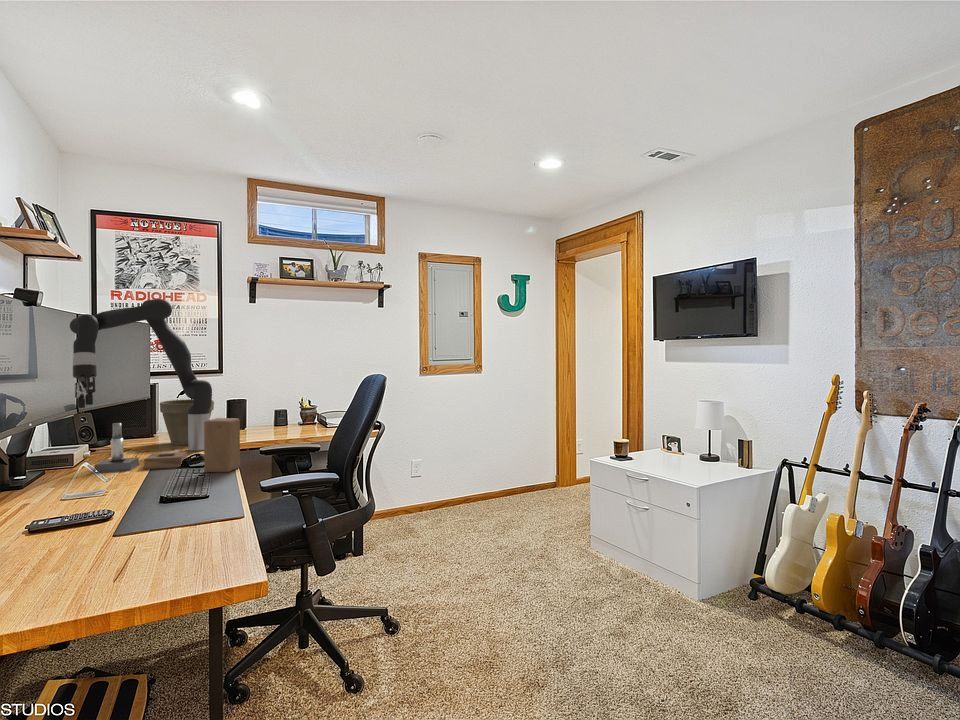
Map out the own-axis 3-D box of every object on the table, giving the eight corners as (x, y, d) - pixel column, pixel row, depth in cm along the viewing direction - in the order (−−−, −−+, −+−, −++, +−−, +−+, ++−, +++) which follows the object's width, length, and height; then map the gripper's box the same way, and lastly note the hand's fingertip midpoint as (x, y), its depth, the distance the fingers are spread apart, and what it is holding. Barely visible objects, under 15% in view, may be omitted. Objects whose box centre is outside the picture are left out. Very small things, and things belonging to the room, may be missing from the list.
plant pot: (208, 445, 271) (208, 402, 271) (153, 448, 265) (152, 403, 265) (218, 438, 295) (218, 398, 295) (168, 440, 289) (167, 399, 289)
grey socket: (104, 466, 220) (104, 459, 220) (138, 464, 224) (138, 457, 224) (94, 472, 209) (94, 464, 209) (130, 470, 213) (130, 462, 213)
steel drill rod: (113, 467, 218) (112, 423, 218) (124, 467, 219) (124, 422, 219) (110, 469, 214) (109, 424, 214) (121, 469, 215) (121, 423, 215)
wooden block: (229, 472, 208) (228, 420, 208) (203, 472, 208) (202, 420, 208) (241, 467, 218) (240, 417, 218) (216, 467, 218) (216, 417, 218)
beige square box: (151, 463, 227) (151, 453, 227) (186, 461, 231) (186, 451, 231) (144, 469, 215) (144, 459, 215) (181, 466, 219) (181, 457, 219)
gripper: (102, 362, 211) (103, 403, 208) (89, 369, 219) (90, 408, 217) (79, 361, 205) (80, 404, 202) (67, 368, 213) (67, 409, 211)
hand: (85, 406), depth 209 cm, fingers open, 8 cm apart
